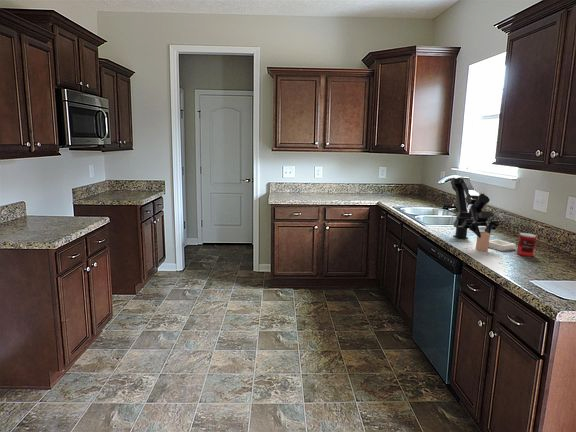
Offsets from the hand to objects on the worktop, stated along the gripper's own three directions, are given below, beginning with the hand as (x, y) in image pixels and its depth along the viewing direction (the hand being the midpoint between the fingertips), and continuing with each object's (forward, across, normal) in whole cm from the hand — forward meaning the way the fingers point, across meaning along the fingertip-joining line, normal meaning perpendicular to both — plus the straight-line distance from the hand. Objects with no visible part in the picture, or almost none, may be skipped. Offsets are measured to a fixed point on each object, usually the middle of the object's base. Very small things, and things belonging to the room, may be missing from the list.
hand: (484, 237), depth 225 cm
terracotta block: (+4, 0, +6) cm, 7 cm away
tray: (0, +13, +10) cm, 17 cm away
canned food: (+9, +20, +1) cm, 22 cm away
